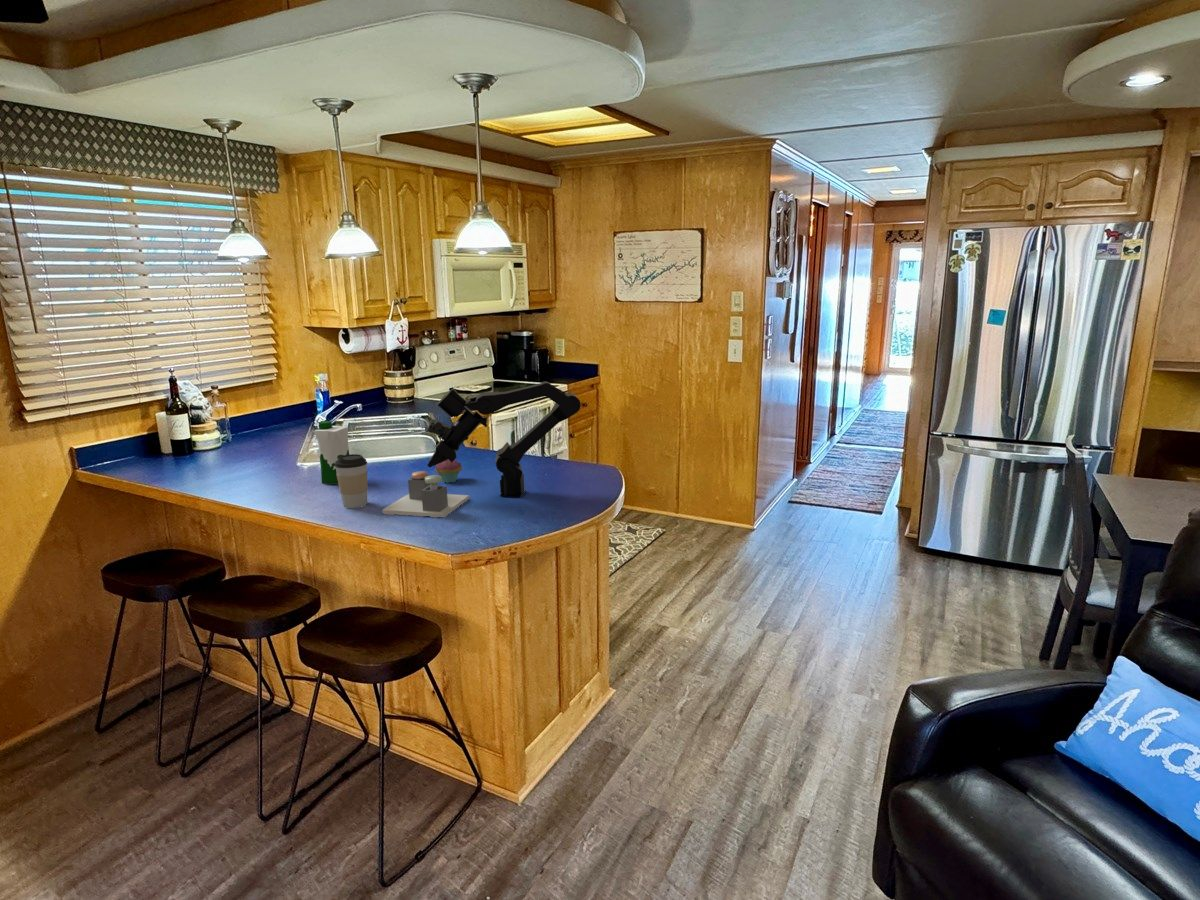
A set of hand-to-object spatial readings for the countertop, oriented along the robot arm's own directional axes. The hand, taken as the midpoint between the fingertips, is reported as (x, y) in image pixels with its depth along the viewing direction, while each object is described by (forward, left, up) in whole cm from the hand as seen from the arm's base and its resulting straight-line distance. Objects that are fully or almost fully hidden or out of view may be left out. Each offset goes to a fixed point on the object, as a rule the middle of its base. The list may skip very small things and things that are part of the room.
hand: (428, 466), depth 205 cm
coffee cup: (+20, +8, -11) cm, 24 cm away
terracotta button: (+2, +1, -9) cm, 9 cm away
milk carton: (+40, -13, -11) cm, 44 cm away
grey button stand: (-2, +6, -11) cm, 12 cm away
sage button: (-7, +10, -7) cm, 14 cm away
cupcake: (+3, -20, -11) cm, 23 cm away
